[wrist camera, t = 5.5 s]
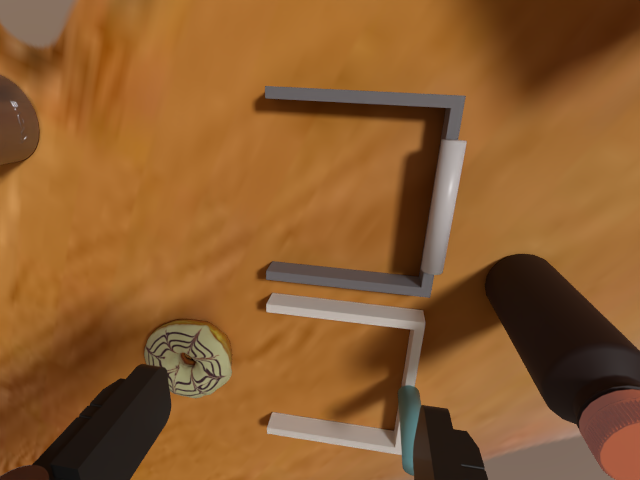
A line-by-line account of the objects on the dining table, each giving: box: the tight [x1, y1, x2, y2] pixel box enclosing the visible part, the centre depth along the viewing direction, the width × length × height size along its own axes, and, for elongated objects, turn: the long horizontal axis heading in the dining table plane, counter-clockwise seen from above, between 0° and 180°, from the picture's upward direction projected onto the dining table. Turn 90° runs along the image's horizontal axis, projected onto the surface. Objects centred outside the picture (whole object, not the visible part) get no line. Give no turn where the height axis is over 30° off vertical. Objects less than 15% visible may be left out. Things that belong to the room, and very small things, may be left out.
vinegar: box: [485, 254, 640, 480], centre depth 29 cm, size 7×7×20 cm
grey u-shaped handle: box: [265, 86, 467, 298], centre depth 35 cm, size 18×19×4 cm
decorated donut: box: [144, 319, 232, 398], centre depth 46 cm, size 10×11×4 cm
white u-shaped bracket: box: [266, 293, 426, 476], centre depth 40 cm, size 18×19×12 cm
